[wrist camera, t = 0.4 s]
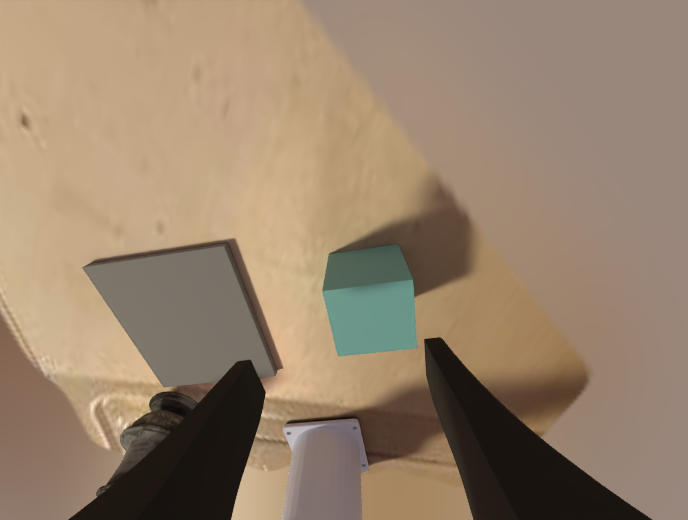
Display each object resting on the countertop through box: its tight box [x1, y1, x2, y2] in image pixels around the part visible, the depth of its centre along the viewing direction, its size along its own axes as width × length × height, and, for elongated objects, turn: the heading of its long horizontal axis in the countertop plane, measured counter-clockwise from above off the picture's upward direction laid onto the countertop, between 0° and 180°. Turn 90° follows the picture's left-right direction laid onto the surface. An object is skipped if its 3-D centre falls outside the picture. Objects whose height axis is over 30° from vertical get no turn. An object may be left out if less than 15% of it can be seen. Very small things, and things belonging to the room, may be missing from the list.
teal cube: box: [323, 244, 417, 356], centre depth 18 cm, size 5×5×5 cm
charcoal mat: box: [82, 243, 277, 387], centre depth 22 cm, size 13×11×1 cm
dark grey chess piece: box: [96, 392, 198, 497], centre depth 22 cm, size 6×6×12 cm
